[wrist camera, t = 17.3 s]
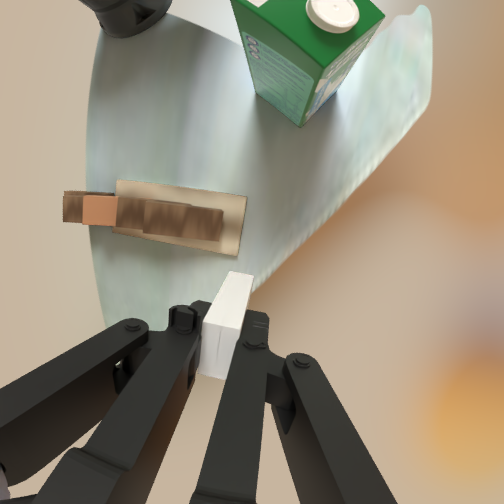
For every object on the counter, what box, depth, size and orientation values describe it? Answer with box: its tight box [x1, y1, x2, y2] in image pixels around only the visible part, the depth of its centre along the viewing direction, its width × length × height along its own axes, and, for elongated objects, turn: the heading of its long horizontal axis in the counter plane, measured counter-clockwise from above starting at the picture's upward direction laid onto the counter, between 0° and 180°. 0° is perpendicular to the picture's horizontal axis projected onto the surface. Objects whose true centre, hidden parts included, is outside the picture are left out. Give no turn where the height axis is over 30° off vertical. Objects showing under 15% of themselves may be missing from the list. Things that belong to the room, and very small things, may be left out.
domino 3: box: [115, 196, 192, 230], centre depth 39 cm, size 4×2×11 cm
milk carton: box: [230, 0, 385, 128], centre depth 25 cm, size 9×9×25 cm
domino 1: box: [63, 195, 83, 223], centre depth 41 cm, size 4×2×11 cm
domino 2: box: [64, 191, 114, 196], centre depth 43 cm, size 4×2×11 cm
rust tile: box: [82, 195, 151, 226], centre depth 39 cm, size 4×2×11 cm
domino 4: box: [143, 200, 224, 242], centre depth 39 cm, size 4×2×11 cm
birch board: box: [112, 180, 247, 256], centre depth 42 cm, size 9×22×1 cm, turn 81°
